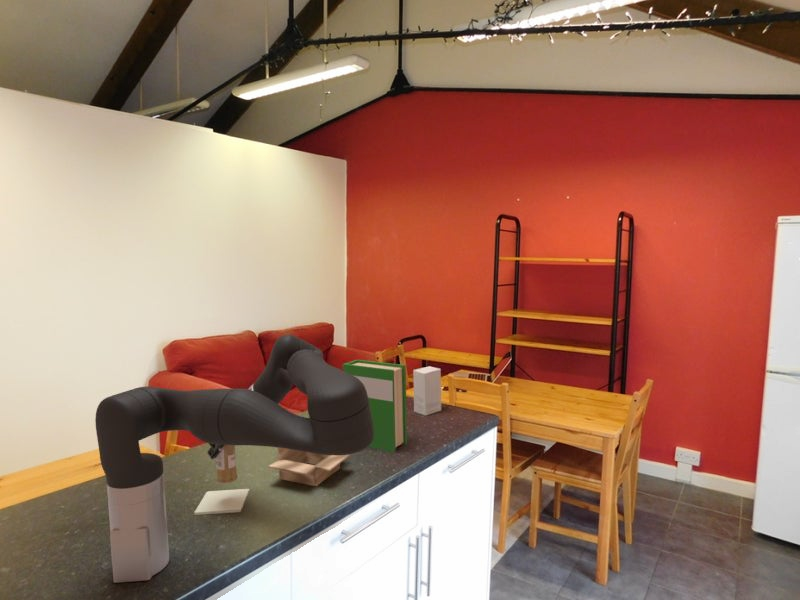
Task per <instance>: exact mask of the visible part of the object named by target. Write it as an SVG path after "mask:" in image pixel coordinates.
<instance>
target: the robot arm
mask: <svg viewBox="0 0 800 600" xmlns="http://www.w3.org/2000/svg"><path fill="white" fill-rule="evenodd" d="M293 385H294V386H295V387H296V389H297V390H298V391H300V392H301V393H302V394H304V395H306V401H307V402H306V403H307V405H306V408H307V413H308V416H309V417H304V416H300V415H298V414H295V413H293V412H291V411H289V410H288V409H286V408H284V407H283V406H281V405H280V403H281V402H282V401H283V400H284V399H285V397H286V395H288V394H289V392H290V391H291V389H292V388H293ZM94 418H95V431H96V438H97V445H98V451H99V460H100V466H101V467H102V470H103V473H104V475H105V479H106V490H107V491H106V492H107V503H108V505H107V506H108V507H107V508H108V516H109V519H108V520H109V529H110V530H109V531H110V532H109V538H110V539H109V540H110V551H111V565H112V577H113V583H115V584H117V583H127V582H131V583H132V582H141V581H150V580H151V579H152V577H153V576H154V575H156V574H158V573H159V572H161V571H163V570H164V569H165V567H167V566H168V565H169V562H170V552H169V551H170V550H169V549H170V548H169V537H168V523H167V522H168V521H167V508H166V507H167V504H166V492H165V474H164V473H165V472H164V461H163V459H162V457H161V456H160V455H158V454H156V453H150V452H149V453H148V452H141V447H140V441H142V440H144V439H146V438H149V437H151V436H153V435H156V434H158V433H163V432H170V431H171V432H172V431H186V432H187V431H188V432H190V434H192V435H193V437H195V438H196V439H198V440H199V441H201V442H202V443H207V444H208V445H209V446H210V448H209V449H208V450H207V451H206V453H207V455H208V456H209V458H210V459H211V460H214V459H216V457H217V455H218V454H219V453H220V452H221V450H222V449H223V448H224V447H225V446H226V445H235V446H255V447H257V446H258V447H269V448H270V447H271V448H278V447H279V448H287V449H293V450H298V451H304V452H310V453H316V454H323V455H349V454H352V455H353V454H357V453H360V452H362V451H364V450H366V449H367V448H369V447H368V446H369V445H370V444H371V443H372V441H373V439H374V426H373V421H372V415H371V410H370V405H369V400H368V395H367V391H366V388H365V386H364V384H363V383H362V382H361V381H360V380H359V379H358V378H356V377H355V376H353V375H351V374H349V373H347V372H344V371H343V369H340V368H337V367H335V366H332V365H331V364H329V363H327V362H326V360H324V353H323V351H322V350H321V349H320V348H319V347H317V346H315V345H314V344H311V343H309V342H307V341H306V340H303V339H302V338H299V337H298V336H295V335H293V334H290V333H288V334H283V335H280V336H279V337H278V338H277V339H276V340H275V342H274V344H273V347H272V349H271V352H270V356H269V359H268V361H267V363H266V365H265V367H264V369H263V371H262V372H261V373H260V375H259V376H258V377H257V378H256V380H255V381H254V383H252V385H250V386H249V388H209V389H207V388H206V389H205V388H204V389H195V390H179V389H171V388H165V387H156V386H149V385H148V386H139V387H136V388H132V389H128V390H126V391H122V392H119V393H116V394H113V395H110V396H108V397H105V398H103V399H102V400H101V401H100V402H99V404H98V406H97V407H96V412H95V417H94Z"/></svg>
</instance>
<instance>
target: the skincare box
mask: <svg viewBox="0 0 800 600" xmlns="http://www.w3.org/2000/svg"><path fill="white" fill-rule="evenodd" d="M441 371H442V369H441V368H439V367H433V366H430V365H429V366H426V367H420V368H416V369H413V372H412V375H413V412H414V413H417V414H419V415H423V416H429V415H431V414H435V413H438V412H441V411H442V381H441V380H442V379H441V378H442V376H441V375H442V374H441Z"/></svg>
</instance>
